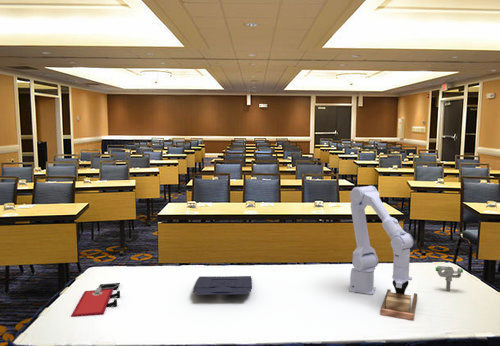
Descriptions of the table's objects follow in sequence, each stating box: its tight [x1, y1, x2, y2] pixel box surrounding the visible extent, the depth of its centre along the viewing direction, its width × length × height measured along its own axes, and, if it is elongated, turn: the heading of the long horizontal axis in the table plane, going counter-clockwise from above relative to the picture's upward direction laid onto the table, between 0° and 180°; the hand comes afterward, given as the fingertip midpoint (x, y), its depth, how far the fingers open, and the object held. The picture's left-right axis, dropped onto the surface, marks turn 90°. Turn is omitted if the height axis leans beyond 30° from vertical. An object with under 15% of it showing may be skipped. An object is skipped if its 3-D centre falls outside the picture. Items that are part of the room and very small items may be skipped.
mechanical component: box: [435, 265, 464, 292], centre depth 176 cm, size 3×10×10 cm, turn 79°
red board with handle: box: [70, 282, 121, 318], centre depth 169 cm, size 30×3×15 cm
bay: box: [379, 288, 418, 321], centre depth 162 cm, size 11×21×2 cm, turn 155°
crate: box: [386, 291, 412, 313], centre depth 157 cm, size 8×8×6 cm
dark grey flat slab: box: [192, 275, 253, 296], centre depth 179 cm, size 24×30×4 cm
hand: (399, 299), depth 162 cm, fingers closed
